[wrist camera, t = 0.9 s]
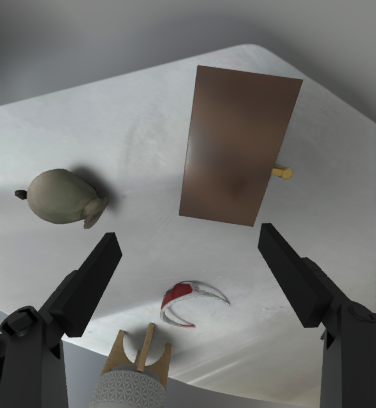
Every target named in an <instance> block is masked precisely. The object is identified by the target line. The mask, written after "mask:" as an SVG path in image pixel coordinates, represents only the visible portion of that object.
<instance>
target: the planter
mask: <svg viewBox="0 0 376 408" xmlns="http://www.w3.org/2000/svg"><path fill="white" fill-rule="evenodd" d="M154 325H155V324H153V323H150V324H149V327H148V330H147V334H146V337H145V340H144V343H143V347H142V350H138V352H137V356H136V359H135V362H134V363H132V362H131V361H130V360H129V359H128V358H127V356H126V354H125V352H124V349H123V337H124V333H125V331H122V330H120V331H119V333H118V335H117V338H116V340H115V342H114V345H113V347H112V350H111V352H110V354H109V357H108V359H107V361H106V364H105V366H104V369H103V371H102V373H101V376H100V378H99V381H98V383H97V385H96V388H95V390H94V393H93V395H92V397H91V400H90V402H89V404H88V407H87V408H163V407H164V400H165V391H166V384H167V377H168V370H169V363H170V355H171V348H172V345H170V344H167V345H166V347H165V351H164V353H163V355H162V357H161V358H160V359H159V360H158V361H157V362H156V363H154V364H152V365H149V366H145V362H146V357H147V353H148V349H149V345H150V341H151V337H152V333H153V329H154Z"/></svg>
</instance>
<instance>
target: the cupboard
mask: <svg viewBox="0 0 376 408" xmlns="http://www.w3.org/2000/svg"><path fill="white" fill-rule="evenodd" d="M302 82H303V80H301V79H294V78H287V77H280V76H272V75H265V74H258V73H251V72H244V71H236V70H229V69H222V68H215V67H208V66H200V65H198V66H197V74H196V82H195V90H194V98H193V106H192V114H191V122H190V130H189V138H188V146H187V154H186V162H185V170H184V178H183V186H182V194H181V202H180V210H179V215H180V216H186V217H193V218H199V219H206V220H212V221H219V222H225V223H232V224H238V225H245V226H251V227H253V226H254V223H255V220H256V217H257V214H258V211H259V208H260V205H261V202H262V200H263V197H264V194H265V191H266V188H267V185H268V182H269V179H270V176H271V173H272V170H273V167H274V164H275V161H276V158H277V156H278V153H279V150H280V147H281V144H282V141H283V138H284V135H285V132H286V129H287V126H288V123H289V120H290V117H291V115H292V112H293V109H294V106H295V103H296V100H297V97H298V94H299V91H300V88H301V85H302Z"/></svg>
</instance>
